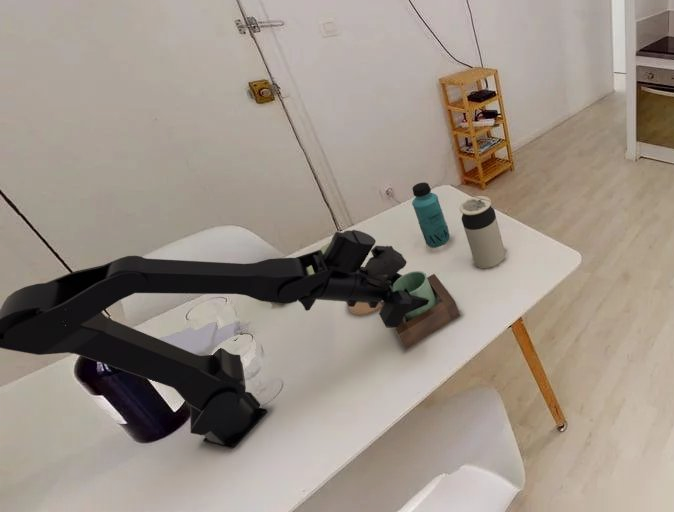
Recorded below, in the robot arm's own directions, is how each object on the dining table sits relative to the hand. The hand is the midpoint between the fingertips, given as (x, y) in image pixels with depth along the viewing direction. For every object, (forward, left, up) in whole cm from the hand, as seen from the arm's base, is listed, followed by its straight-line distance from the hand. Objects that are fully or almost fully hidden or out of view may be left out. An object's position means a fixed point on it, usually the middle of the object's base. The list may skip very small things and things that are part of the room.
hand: (422, 293), depth 92 cm
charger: (-16, +42, -7) cm, 45 cm away
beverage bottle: (+22, +12, -7) cm, 26 cm away
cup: (-1, +1, -7) cm, 7 cm away
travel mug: (+19, -5, -7) cm, 21 cm away
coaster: (+2, +17, -7) cm, 18 cm away
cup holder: (-1, +1, -7) cm, 7 cm away
